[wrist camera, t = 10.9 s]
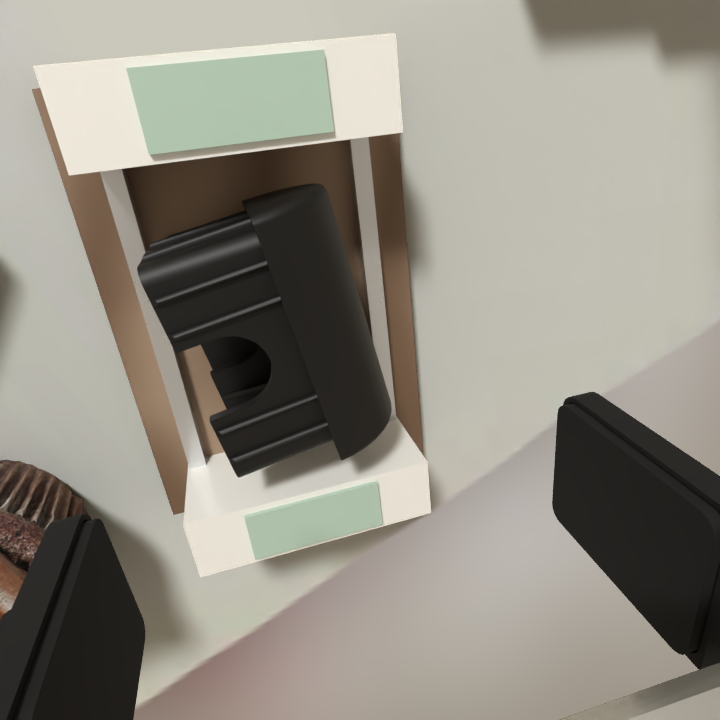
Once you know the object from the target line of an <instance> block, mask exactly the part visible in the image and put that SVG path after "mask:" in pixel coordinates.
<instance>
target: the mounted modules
mask: <svg viewBox="0 0 720 720" xmlns="http://www.w3.org/2000/svg"><path fill="white" fill-rule="evenodd" d="M33 67H34V70H35V73H36V76H37V79H38V82H39V86H40V89H41V92H42V95H43V98H44V101H45V104H46V107H47V110H48V113H49V116H50V119H51V122H52V125H53V128H54V131H55V134H56V138H57V141H58V144H59V147H60V150H61V153H62V156H63V159H64V162H65V165H66V168H67V171H68V174H69V176H70V175H78V174H85V173H93V172H101V171H109V170H116V169H124V168H132V167H140V166H147V165H155V164H163V163H170V162H178V161H186V160H194V159H201V158H209V157H217V156H225V155H232V154H240V153H248V152H256V151H263V150H271V149H279V148H287V147H294V146H302V145H310V144H318V143H325V142H333V141H341V140H349V139H356V138H364V137H372V136H380V135H387V134H395V133H403V125H402V112H401V98H400V85H399V71H398V58H397V44H396V33H390V34H379V35H368V36H357V37H346V38H335V39H324V40H313V41H302V42H290V43H279V44H268V45H257V46H246V47H235V48H224V49H213V50H202V51H191V52H180V53H169V54H158V55H147V56H135V57H124V58H113V59H102V60H91V61H80V62H69V63H58V64H47V65H36V66H33ZM429 513H431V503H430V490H429V476H428V463H427V460H426V459H425V458H424V456H423V455H422V453H421V452H420V450H419V449H418V447H417V446H416V444H415V443H414V441H413V440H412V438H411V437H410V436H409V434H408V433H407V431H406V430H405V428H404V427H403V425H402V424H401V422H400V421H399V419H398V418H397V416H396V420H392V421H389V422H388V424H387V426H386V427H385V429H384V431H383V432H382V433H381V434H380V435H379V436H378V437H377V438H376V440H374V441H373V442H372V443H371V444H370V445H368V446H367V447H366V448H364V449H363V450H361V451H360V452H358V453H356V454H355V455H353V456H351V457H349V458H347V459H344V460H342V461H341V459H340V456H339V454H338V451H337V449H336V446H335V444H334V441H330V442H328V443H325V444H323V445H320V446H318V447H315V448H313V449H310V450H308V451H305V452H303V453H300V454H298V455H295V456H293V457H290V458H288V459H285V460H283V461H280V462H278V463H275V464H273V465H270V466H268V467H265V468H263V469H260V470H258V471H255V472H253V473H250V474H248V475H245V476H243V477H240V478H238V477H237V475H236V474H235V472H234V470H233V468H232V466H231V464H230V462H229V460H228V458H227V456H226V454H225V452H223V453H219V454H215V455H211V456H206V465H205V466H200V467H196V468H192V469H190V468H189V465H188V473H187V485H186V497H185V509H184V522H183V526H184V529H185V532H186V535H187V538H188V541H189V544H190V547H191V551H192V554H193V557H194V560H195V563H196V566H197V569H198V572H199V575H200V577H204V576H208V575H211V574H215V573H218V572H222V571H225V570H229V569H233V568H236V567H240V566H243V565H247V564H250V563H254V562H258V561H261V560H265V559H268V558H272V557H275V556H279V555H283V554H286V553H290V552H293V551H297V550H300V549H304V548H308V547H311V546H315V545H318V544H322V543H325V542H329V541H333V540H336V539H340V538H343V537H347V536H350V535H354V534H358V533H361V532H365V531H368V530H372V529H375V528H379V527H383V526H386V525H390V524H393V523H397V522H401V521H404V520H408V519H411V518H415V517H418V516H422V515H426V514H429Z"/></svg>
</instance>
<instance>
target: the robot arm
mask: <svg viewBox="0 0 720 720" xmlns="http://www.w3.org/2000/svg"><path fill="white" fill-rule="evenodd" d="M554 468H555V469H554V484H553V501H552V504H553V510H554V513H555V515H556V517H557V519H558V520H559V522H560V523H561V524H562V525H563V526H564V527H565V529H566V530H567V531H568V532H569V533H570V534H571V535H572V536H573V538H574V539H575V540H576V541H577V542H578V543H579V544H580V545H581V547H582V548H583V549H584V550H585V551H586V552H587V553H588V554H589V556H590V557H591V558H592V559H593V560H594V561H595V562H596V563H597V565H599V567H600V568H601V569H602V570H603V571H604V572H605V573H606V575H607V576H608V577H609V578H610V579H611V580H612V582H614V584H615V585H616V586H617V587H618V588H619V589H620V590H621V591H622V593H623V594H624V595H625V596H626V597H627V598H628V600H629V601H630V602H631V603H632V604H633V605H634V606H635V607H636V609H637V610H638V611H639V612H640V613H641V614H642V615H643V616H644V617H645V619H646V620H647V621H648V622H649V623H650V624H651V625H652V627H653V628H654V629H655V630H656V631H657V632H658V633H659V634H660V636H661V637H662V638H663V639H664V640H665V641H666V642H667V643H668V645H669V646H670V647H671V648H672V649H673V650H674V651H676V652H677V653H679V654H682V655H683V654H685V655H686V656H687V657H688V658H689V659H690V660H691V662H692V663H693V664H694V665H695V666H696V667H697V668H698V669H699V670H697V671H695V672H692V673H689V674H686V675H683V676H681V677H678V678H675V679H672V680H669V681H667V682H664V683H661V684H658V685H655V686H653V687H650V688H647V689H644V690H641V691H639V692H636V693H633V694H630V695H628V696H625V697H622V698H619V699H616V700H613V701H611V702H608V703H605V704H602V705H599V706H597V707H594V708H591V709H588V710H585V711H583V712H580V713H577V714H574V715H572V716H569V717H566V718H563V719H560V720H720V476H719V475H717V474H716V473H714V472H713V471H711V470H710V469H709V468H707V467H705V466H704V465H702V464H701V463H700V462H698V461H697V460H695V459H694V458H692V457H691V456H689V455H688V454H686V453H685V452H683V451H682V450H680V449H679V448H677V447H676V446H674V445H673V444H671V443H670V442H668V441H667V440H666V439H664V438H663V437H661V436H660V435H658V434H657V433H655V432H654V431H652V430H651V429H649V428H648V427H646V426H645V425H643V424H642V423H640V422H639V421H637V420H636V419H634V418H633V417H632V416H630V415H629V414H627V413H626V412H624V411H622V410H621V409H620V408H618V407H617V406H615V405H614V404H612V403H611V402H609V401H608V400H606V399H605V398H603V397H602V396H600V395H599V394H597V393H595V392H589V393H585V394H580V395H576V396H572V397H568V398H567V399H565V401H564V404H563V406H561V407H560V408H559V410H558V417H557V434H556V451H555V467H554ZM144 643H145V626H144V621H143V618H142V615H141V613H140V611H139V608H138V606H137V603H136V601H135V599H134V596H133V594H132V591H131V589H130V587H129V584H128V582H127V579H126V577H125V575H124V572H123V570H122V567H121V565H120V563H119V560H118V558H117V555H116V553H115V551H114V548H113V546H112V543H111V541H110V539H109V536H108V534H107V531H106V529H105V527H104V524H103V522H102V521H101V520H100V519H94V520H91V518H90V516H89V515H88V514H80V515H76V516H72V517H68V518H64V519H60V520H55V521H52V522H51V523H50V524H49V525H48V527H47V529H46V531H45V533H44V536H43V538H42V540H41V542H40V545H39V547H38V549H37V552H36V554H35V556H34V558H33V561H32V563H31V565H30V567H29V570H28V572H27V574H26V576H25V579H24V581H23V583H22V586H21V588H20V590H19V592H18V595H17V597H16V599H15V601H14V604H13V606H12V608H11V610H8V611H7V612H6V613H5V614H4V615H3V616H2V617H1V619H0V720H133V717H134V710H135V704H136V697H137V690H138V683H139V677H140V670H141V663H142V656H143V649H144Z"/></svg>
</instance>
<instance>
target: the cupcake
mask: <svg viewBox="0 0 720 720" xmlns="http://www.w3.org/2000/svg"><path fill="white" fill-rule="evenodd" d="M82 506H83V500H82V499H81V498H79V497H77V496H75V495H74V494H72V493H71V490H70V489H69V488H68V487H67V486H66V485H65V484H64V483H62V482H61V481H60V480H59V479H57V478H56V477H55V476H54V475H52V474H50V473H48V472H46V471H44V470H41V469H38V468H36V467H35V466H33V465H29V464H25V463H23V462H20V461H9V460H2V461H0V619H1V617H2V616H3V615H4V614H5V613H6V612H7V611H8V610H11V608H12V606H13V604H14V601H15V599H16V597H17V595H18V592H19V590H20V588H21V586H22V583H23V581H24V579H25V576H26V574H27V572H28V570H29V567H30V565H31V563H32V561H33V558H34V556H35V554H36V552H37V549H38V547H39V545H40V542H41V540H42V538H43V536H44V533H45V531H46V529H47V527H48V525H49V524H50V523H51V522H52V521H55V520H60V519H64V518H68V517H72V516H76V515H80V514H88V513H87V512H86V511H85V510H84V508H83V507H82Z"/></svg>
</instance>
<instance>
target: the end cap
mask: <svg viewBox="0 0 720 720" xmlns="http://www.w3.org/2000/svg"><path fill="white" fill-rule="evenodd" d="M242 203H243V206H244V209H245V211H242V212H239V213H236V214H233V215H230V216H227V217H224V218H221V219H218V220H215V221H212V222H209V223H206V224H203V225H200V226H197V227H194V228H191V229H188V230H185V231H182V232H179V233H176V234H173V235H170V236H167V237H166V238H164V239H161V240H158V241H155V242H152V243H151V245H150V247H149V250H148V251H147V253H145V254H144V255H143V257H142V260H141V262H140V264H139V265H138V267H137V271H138V276H139V279H140V281H141V284H142V286H143V288H144V290H145V292H146V294H147V297H148V299H149V301H150V303H151V305H152V307H153V309H154V311H155V313H156V315H157V317H158V319H159V321H160V323H161V325H162V327H163V329H164V331H165V333H166V335H167V337H168V339H169V341H170V343H171V345H172V347H173V349H174V351H175V353H179V352H182V351H185V350H187V349H190V348H193V347H196V346H198V345H201V346H202V348H203V351H204V353H205V355H206V357H207V359H208V361H209V363H210V366H211V368H212V371H210V375H211V377H212V379H213V381H214V384H215V386H216V388H217V390H218V392H219V394H220V396H221V398H222V401H223V403H224V405H225V407H226V409H227V410H224V411H221V412H219V413H216V414H213V415H211V416H210V423H211V425H212V428H213V430H214V432H215V434H216V436H217V438H218V440H219V442H220V444H221V446H222V448H223V450H224V452H225V454H226V456H227V458H228V460H229V462H230V464H231V466H232V468H233V470H234V472H235V474H236V475H237V477H238V478H240V477H243V476H245V475H248V474H250V473H253V472H255V471H258V470H260V469H263V468H265V467H268V466H270V465H273V464H275V463H278V462H280V461H283V460H285V459H288V458H290V457H293V456H295V455H298V454H300V453H303V452H305V451H308V450H310V449H313V448H315V447H318V446H320V445H323V444H325V443H328V442H330V441H334V444H335V446H336V449H337V451H338V454H339V456H340V459H341V461H342V460H344V459H347V458H349V457H351V456H353V455H355V454H356V453H358V452H360V451H361V450H363V449H364V448H366V447H367V446H368V445H370V444H371V443H372V442H373V441H374V440H376V438H377V437H378V436H379V435H380V434H381V433H382V432H383V431H384V429H385V427H386V426H387V424H388V422H389V420H390V416H391V412H392V407H391V400H390V397H389V394H388V390H387V387H386V384H385V380H384V377H383V374H382V370H381V367H380V364H379V361H378V357H377V354H376V351H375V347H374V344H373V341H372V337H371V334H370V331H369V327H368V324H367V321H366V317H365V314H364V311H363V307H362V304H361V301H360V297H359V294H358V291H357V288H356V284H355V281H354V278H353V274H352V271H351V268H350V264H349V261H348V258H347V254H346V251H345V248H344V244H343V241H342V238H341V234H340V231H339V228H338V225H337V221H336V218H335V215H334V211H333V208H332V205H331V201H330V198H329V195H328V191H327V189H326V188H325V187H324V186H323V185H321V184H315V183H313V184H304V185H298V186H293V187H288V188H284V189H280V190H276V191H273V192H269V193H266V194H262V195H259V196H256V197H252V198H249V199H246V200H243V201H242Z"/></svg>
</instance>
